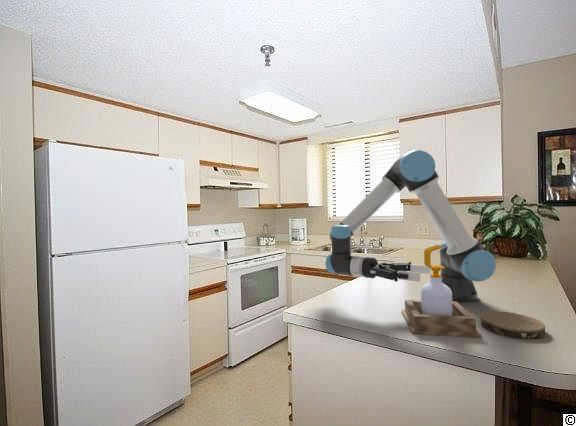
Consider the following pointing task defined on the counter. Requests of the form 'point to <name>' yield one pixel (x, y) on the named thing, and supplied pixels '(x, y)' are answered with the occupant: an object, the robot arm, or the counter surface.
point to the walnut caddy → (440, 321)
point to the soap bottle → (435, 290)
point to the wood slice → (513, 325)
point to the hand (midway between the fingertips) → (425, 273)
